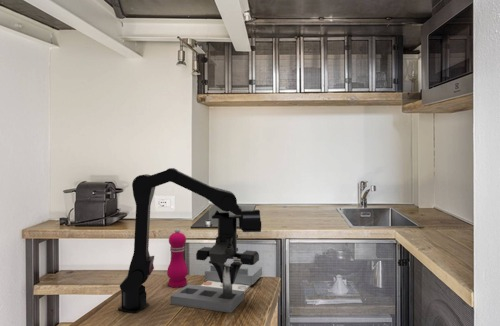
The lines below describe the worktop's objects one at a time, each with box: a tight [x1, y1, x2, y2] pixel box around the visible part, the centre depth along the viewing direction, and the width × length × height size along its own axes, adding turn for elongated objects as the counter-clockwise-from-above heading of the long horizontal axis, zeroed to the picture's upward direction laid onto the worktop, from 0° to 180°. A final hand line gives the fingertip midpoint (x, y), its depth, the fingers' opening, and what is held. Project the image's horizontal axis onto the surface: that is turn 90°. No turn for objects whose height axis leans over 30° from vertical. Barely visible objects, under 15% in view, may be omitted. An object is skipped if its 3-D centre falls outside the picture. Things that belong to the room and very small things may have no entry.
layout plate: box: [200, 280, 252, 293], centre depth 124 cm, size 16×9×1 cm, turn 71°
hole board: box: [170, 283, 245, 314], centre depth 112 cm, size 20×11×2 cm, turn 71°
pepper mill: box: [166, 227, 189, 288], centre depth 127 cm, size 7×7×20 cm
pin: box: [222, 263, 232, 297], centre depth 110 cm, size 3×3×9 cm
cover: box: [204, 262, 263, 286], centre depth 132 cm, size 18×11×5 cm, turn 71°
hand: (227, 283), depth 110 cm, fingers closed on pin, 3 cm apart
